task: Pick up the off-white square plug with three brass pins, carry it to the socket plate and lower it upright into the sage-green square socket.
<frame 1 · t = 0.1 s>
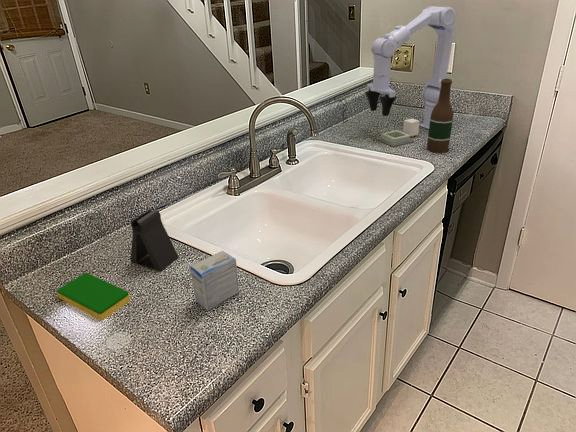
hand: (379, 113, 164), 10 cm above the worktop, tool pointing down, fingers open, 7 cm apart
dish sponge: (95, 301, 92), on the worktop
medicine box: (218, 298, 90), on the worktop
beer bottle: (437, 149, 158), on the worktop
plug: (410, 136, 171), on the worktop
phone stand: (154, 261, 103), on the worktop
socket block: (395, 140, 167), on the worktop
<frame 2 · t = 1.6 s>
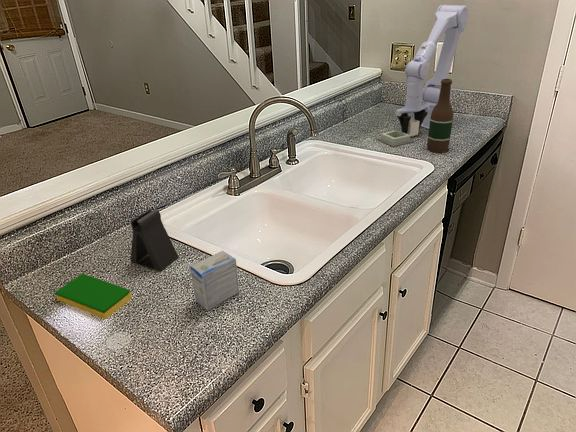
hand: (410, 131, 170), 2 cm above the worktop, tool pointing down, fingers open, 5 cm apart
nothing on the worktop moved.
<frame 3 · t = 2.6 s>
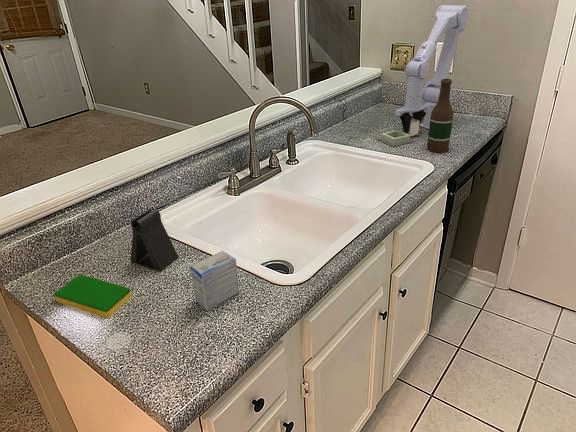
hand: (410, 131, 170), 2 cm above the worktop, tool pointing down, fingers closed on plug, 4 cm apart
plug: (410, 135, 171), on the worktop, touching gripper
everything else where it was.
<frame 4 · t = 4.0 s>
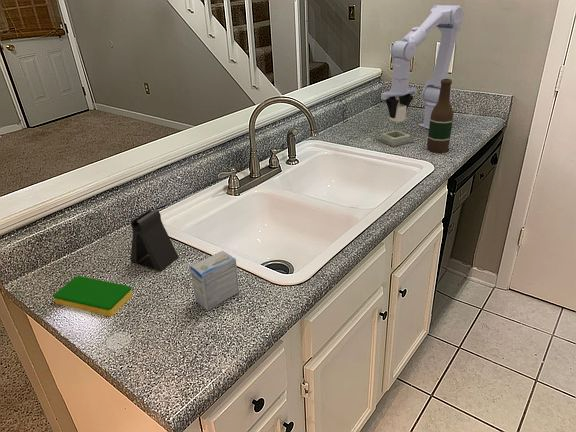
hand: (397, 116, 162), 9 cm above the worktop, tool pointing down, fingers closed on plug, 4 cm apart
plug: (397, 121, 163), point 7 cm above the worktop, touching gripper
everything else where it was.
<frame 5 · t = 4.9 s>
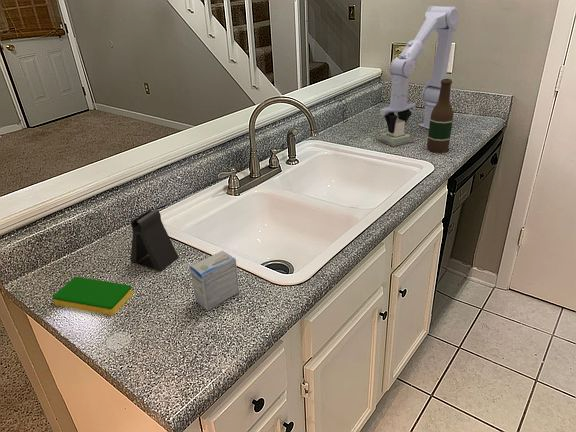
hand: (396, 131, 165), 4 cm above the worktop, tool pointing down, fingers closed on plug, 4 cm apart
plug: (395, 136, 166), point 2 cm above the worktop, touching gripper
when the fingers open (3 cm above the worktop, at t = 5.9 s): plug stays where it is, resting on socket block.
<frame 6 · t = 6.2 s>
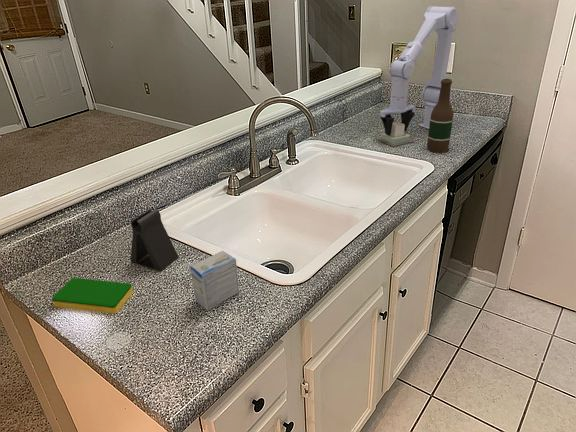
hand: (395, 132, 165), 3 cm above the worktop, tool pointing down, fingers open, 7 cm apart
plug: (395, 139, 167), resting on socket block
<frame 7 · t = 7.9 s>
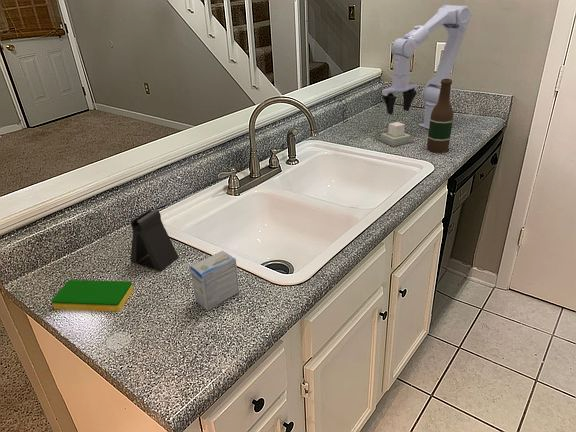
hand: (398, 112, 167), 9 cm above the worktop, tool pointing down, fingers open, 7 cm apart
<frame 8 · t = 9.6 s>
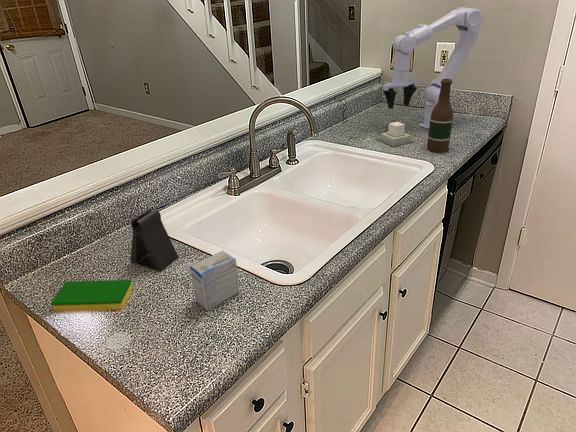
hand: (398, 106, 172), 9 cm above the worktop, tool pointing down, fingers open, 7 cm apart
at the end: plug 0.1 cm off-centre on the socket block, point 0.4 cm above the socket block's base; plug tilted 0°; the gripper is holding nothing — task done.
